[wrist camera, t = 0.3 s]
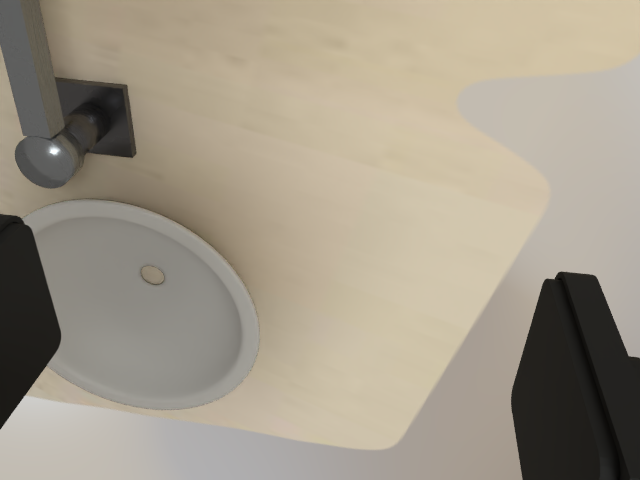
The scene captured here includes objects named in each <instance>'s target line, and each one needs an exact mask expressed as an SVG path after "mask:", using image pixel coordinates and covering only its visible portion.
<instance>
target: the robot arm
mask: <svg viewBox="0 0 640 480" xmlns="http://www.w3.org/2000/svg"><path fill="white" fill-rule="evenodd" d="M60 342H61V330H60V326H59V323H58V319H57V316H56V312H55V309H54V305H53V302H52V298H51V294H50V291H49V287H48V284H47V280H46V277H45V273H44V270H43V266H42V263H41V259H40V256H39V252H38V249H37V245H36V242H35V238H34V235H33V232H32V229H31V228H30V227H29V226H28V225H25V223H24V221H23V220H22V219H21V218H20V217H18V216H13V215H3V214H0V429H1V428H2V426H3V425H4V423H5V422H6V421H7V419H8V418H9V417H10V415H11V413H12V412H13V411H14V410H15V408H16V407H17V405H18V404H19V403H20V401H21V400H22V399H23V397H24V396H25V395H26V393H27V392H28V390H29V389H30V388H31V386H32V385H33V384H34V382H35V381H36V379H37V378H38V377H39V375H40V374H41V372H42V371H43V370H44V368H45V367H46V366H47V364H48V363H49V361H50V360H51V359H52V357H53V356H54V355H55V353H56V352H57V350H58V348H59V346H60ZM511 405H512V406H511V407H512V413H513V420H514V427H515V433H516V439H517V446H518V452H519V459H520V465H521V471H522V478H523V480H640V358H637V357H629V356H628V354H627V351H626V349H625V346H624V344H623V342H622V339H621V336H620V334H619V331H618V329H617V326H616V324H615V322H614V319H613V316H612V314H611V311H610V309H609V306H608V304H607V301H606V299H605V296H604V294H603V292H602V289H601V286H600V284H599V282H598V279H597V278H596V276H594V275H589V274H579V273H569V272H559V273H558V274H557V275H556V277H555V279H546V280H545V281H544V283H543V285H542V289H541V292H540V296H539V299H538V302H537V306H536V309H535V313H534V316H533V319H532V323H531V327H530V330H529V333H528V337H527V340H526V344H525V347H524V351H523V354H522V357H521V361H520V364H519V368H518V371H517V375H516V378H515V381H514V385H513V389H512V397H511Z"/></svg>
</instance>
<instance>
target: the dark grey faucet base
mask: <svg viewBox="0 0 640 480" xmlns="http://www.w3.org/2000/svg"><path fill="white" fill-rule="evenodd" d="M55 81H56V86H57V91H58V96H59V100H60V105H61V110H62V115H63V120H64V125H65V127H64V129H66V130H67V131H69V132H70V133H71V134H73V135H74V136H75V137H76V139H77V140H78V141H79V143H80V144H81V146H82V149H83V152H84V155H85V154H86V153H96V154H105V155H114V156H123V157H132V158H133V157H134V156H135V154H136V147H135V140H134V132H133V125H132V118H131V111H130V103H129V96H128V89H127V85H122V84H113V83H103V82H93V81H83V80H73V79H63V78H55Z"/></svg>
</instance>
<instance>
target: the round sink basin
mask: <svg viewBox="0 0 640 480" xmlns="http://www.w3.org/2000/svg"><path fill="white" fill-rule="evenodd" d="M22 220H23V221H24V223H25V225H28V226H29V227H30V228H31V229H32V232H33V235H34V238H35V242H36V245H37V249H38V252H39V256H40V259H41V263H42V266H43V270H44V273H45V277H46V280H47V284H48V287H49V291H50V294H51V298H52V302H53V305H54V309H55V312H56V316H57V319H58V323H59V326H60V330H61V342H60V346H59V348H58V350H57V352H56V353H55V355H54V356H53V357H52V359H51V360H50V361H49V363H48V364H47V366H48V367H49V368H50V369H52V370H53V371H54V372H56V373H57V374H58V375H60V376H62V377H63V378H65V379H66V380H68V381H69V382H71V383H73V384H75V385H76V386H78V387H80V388H82V389H84V390H86V391H88V392H90V393H93V394H95V395H97V396H100V397H102V398H105V399H108V400H111V401H114V402H117V403H121V404H124V405H129V406H133V407H139V408H145V409H155V410H179V409H187V408H193V407H198V406H202V405H205V404H208V403H211V402H213V401H215V400H218V399H220V398H222V397H223V396H225V395H227V394H228V393H230V392H231V391H233V390H234V389H235V388H236V387H237V386H238V385H239V384H240V383H241V382H242V381H243V380H244V379H245V378H246V376H247V375H248V373H249V372H250V370H251V369H252V367H253V365H254V362H255V360H256V357H257V353H258V350H259V342H260V329H259V321H258V316H257V312H256V309H255V306H254V303H253V301H252V298H251V296H250V294H249V292H248V290H247V288H246V286H245V285H244V283H243V282H242V280H241V278H240V277H239V275H238V274H237V273H236V272H235V270H234V269H233V268H232V266H231V265H230V264H229V263H228V262H227V261H226V260H225V259H224V258H223V257H222V255H220V254H219V253H218V252H217V251H216V250H215V249H214V248H213V247H212V246H211V245H209V244H208V243H207V242H206V241H204V240H203V239H202V238H200V237H199V236H198V235H196V234H195V233H193V232H192V231H190V230H189V229H187V228H185V227H184V226H182V225H180V224H178V223H177V222H175V221H173V220H171V219H169V218H167V217H164V216H162V215H160V214H158V213H155V212H152V211H150V210H147V209H144V208H141V207H138V206H134V205H131V204H126V203H122V202H117V201H109V200H101V199H77V200H69V201H62V202H58V203H54V204H50V205H47V206H45V207H42V208H40V209H37V210H35V211H34V212H32V213H30V214H28V215H26V216H25V217H24V218H22ZM144 266H154V267H156V268H158V269H159V270H160V271H161V272H162V273H163V274H164V277H165V280H164V281H163V283H161V284H158V285H154V284H150V283H148V282H147V281H145V280H144V279H143V277H142V275H141V269H142V268H143V267H144Z"/></svg>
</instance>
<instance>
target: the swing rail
mask: <svg viewBox="0 0 640 480" xmlns="http://www.w3.org/2000/svg"><path fill="white" fill-rule="evenodd" d="M0 45H1V49H2V53H3V57H4V61H5V65H6V69H7V73H8V77H9V81H10V85H11V89H12V93H13V97H14V101H15V104H16V108H17V112H18V116H19V120H20V124H21V128H22V132H23V136H27V137H26V138H25V139H23V140H22V141H21V142H20V143H19V144H18V145H17V147H16V150H15V159H16V163H17V165H18V167H19V169H20V171H21V172H22V173H23V174H24V176H25V177H26V178H28V179H29V180H30V181H31V182H33V183H34V184H36V185H38V186H41V187H44V188H58V187H61V186H63V185H64V184H65V183H66V182H67V181H68V180H69V179H70V178H71V177H72V176H73V175H74V174H75V173H76V172H77V171H79V170H80V168H81V167H82V165H83V163H84V152H83V149H82V146H81V144H80V143H79V141H78V140H77V139H76V137H75V136H74V135H73V134H71V133H70V132H69V131H67V130H66V129H64V127H65V125H64V120H63V115H62V110H61V105H60V100H59V96H58V91H57V86H56V81H55V76H54V71H53V67H52V62H51V57H50V52H49V47H48V43H47V38H46V33H45V28H44V23H43V18H42V14H41V9H40V4H39V0H0Z"/></svg>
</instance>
